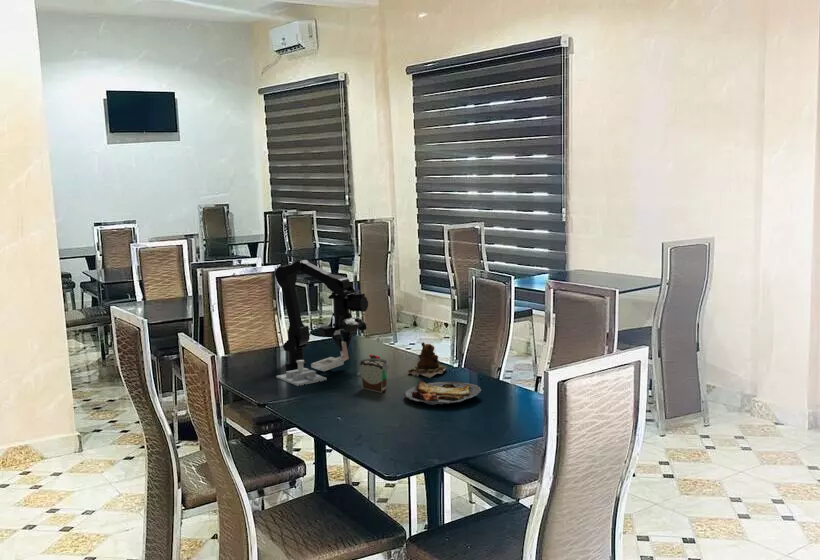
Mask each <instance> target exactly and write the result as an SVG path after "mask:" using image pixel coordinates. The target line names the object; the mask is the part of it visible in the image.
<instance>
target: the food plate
mask: <svg viewBox="0 0 820 560" xmlns="http://www.w3.org/2000/svg"><path fill="white" fill-rule="evenodd" d="M481 391H482V389H481V387H480V386H478V385H476V384H472V383H468V382H464V381H443V382H442V381H438V382H437V381H436V382H428V383H426V382H424V381H418V384H417V385H414V386H411V387H410V388H408V389H406V390H405V391H404V392H403V396H404V398H406V399H408V401H414V402H421V403H425V404H427V405H431V406H434V405H443V404H453V403H454V404H455V403H460V402H463V401H465V400H468V399H471V398H473V397H475V396H478V394H480V393H481Z"/></svg>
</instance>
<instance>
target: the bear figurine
mask: <svg viewBox="0 0 820 560" xmlns="http://www.w3.org/2000/svg"><path fill="white" fill-rule="evenodd" d="M421 347H422V348H421V350H420V354H419V355H418V359H419V361H418V362H417V365H416V366H414V368H413V367H412V368H410V369H407V376H408V375H409V374H411V376H412V377H413V376H414V377H419V375H421V376H423V377H426V378H429V379H430V378H432V377H434V376H435V375H437V374H441V375H442V374H443V373H444V372H445V370H446V369H447V366H444V365H442V364H439V363H440V360H439V356H438V355H437V354H436V352H434V351H435V346H434V345H433V344H431V343H425V342H422V343H421Z"/></svg>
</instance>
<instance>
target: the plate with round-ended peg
mask: <svg viewBox="0 0 820 560" xmlns="http://www.w3.org/2000/svg"><path fill="white" fill-rule="evenodd" d="M296 362H297V363H298V366H297V369H293V370H287V371H285V374H280V375H278V374H277V375H276V377H275V378H277V379H279V380H282V381H284V382H286V383H289V384H292V385H294V386H296V387H300V386H304V384H305V385H309V384H310V385H311V384H313V383H314V384H315V383H319V381H320V382H324V380H325V381H327V377H326V376H323V375H320V374H318V373H317V371H316V370H313V369H309V368H307V367H304V365H303V362H305V360H304V359H303V360H297V361H296ZM299 385H300V386H299Z"/></svg>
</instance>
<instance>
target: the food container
mask: <svg viewBox="0 0 820 560" xmlns="http://www.w3.org/2000/svg"><path fill="white" fill-rule="evenodd" d="M358 366H359V367H360V368H359V369H360V370H361V373H360V377H361V384H362V389H363V390H368V391H372V392H376V393H382V394H383V393H384V392H386V391H387V383H388V382H387V380H388V370H389V368H390V365H389V362H388V361H387V360H386V359H383V358H380V359H376V358H372V359H370V358H364V359H363V358H362V359H359V361H358Z"/></svg>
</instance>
